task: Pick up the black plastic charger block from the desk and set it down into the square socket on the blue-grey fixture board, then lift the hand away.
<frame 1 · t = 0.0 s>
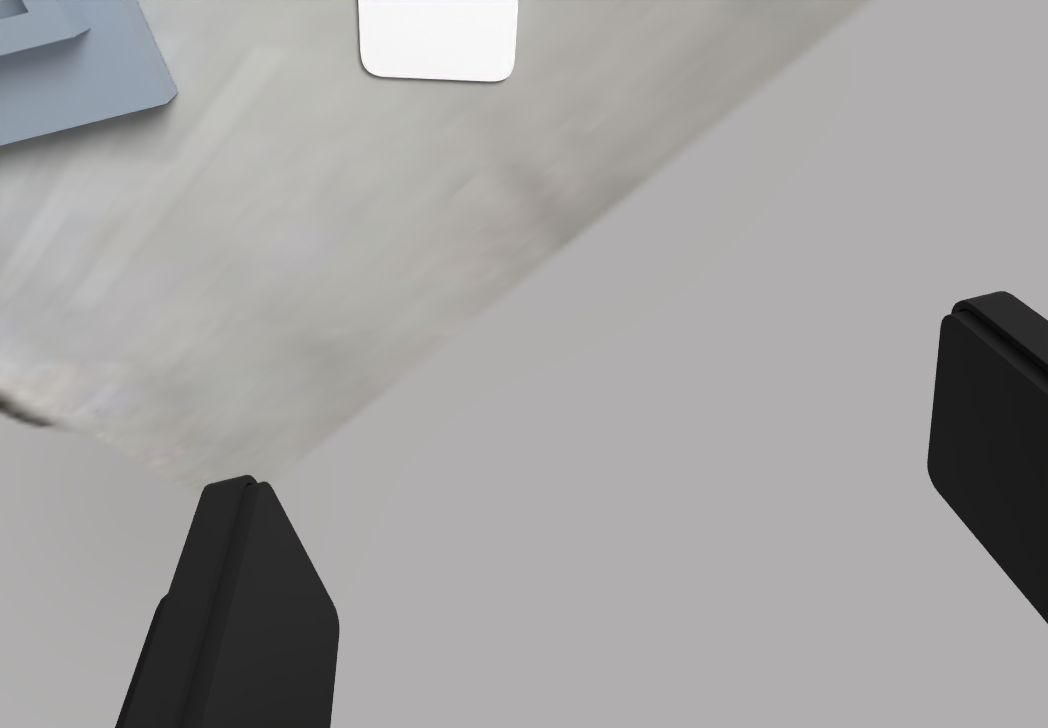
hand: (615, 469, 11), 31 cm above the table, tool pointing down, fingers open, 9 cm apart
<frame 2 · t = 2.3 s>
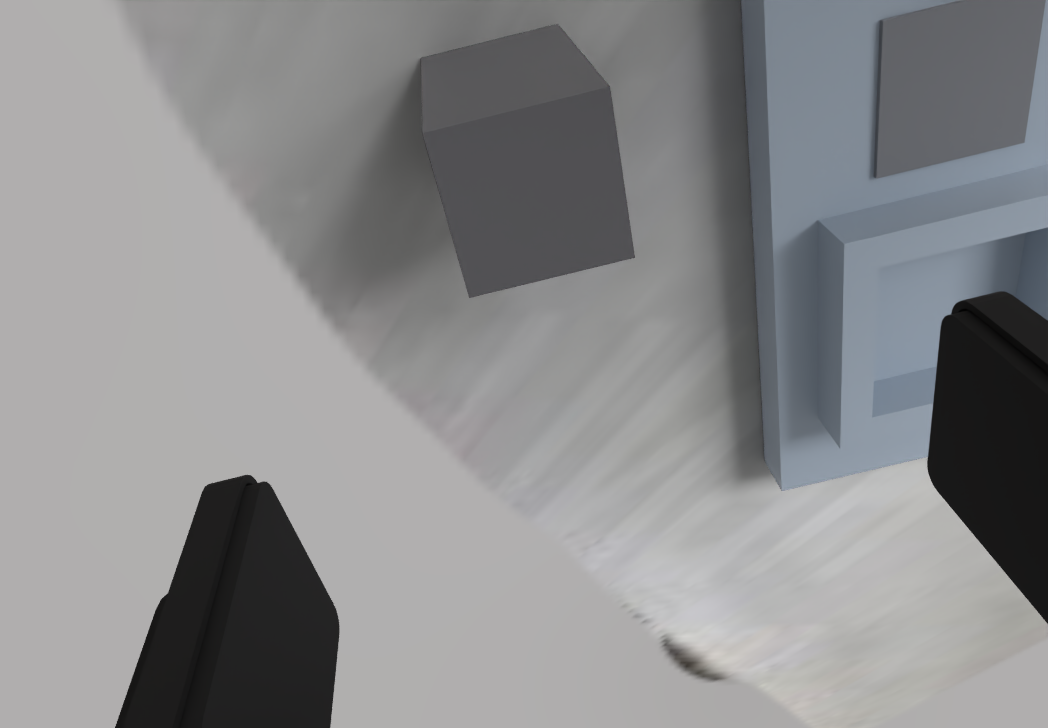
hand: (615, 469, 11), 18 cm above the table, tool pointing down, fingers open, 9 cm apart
blue-grey fixture board: (912, 180, 29), on the table
charger: (504, 110, 26), on the table
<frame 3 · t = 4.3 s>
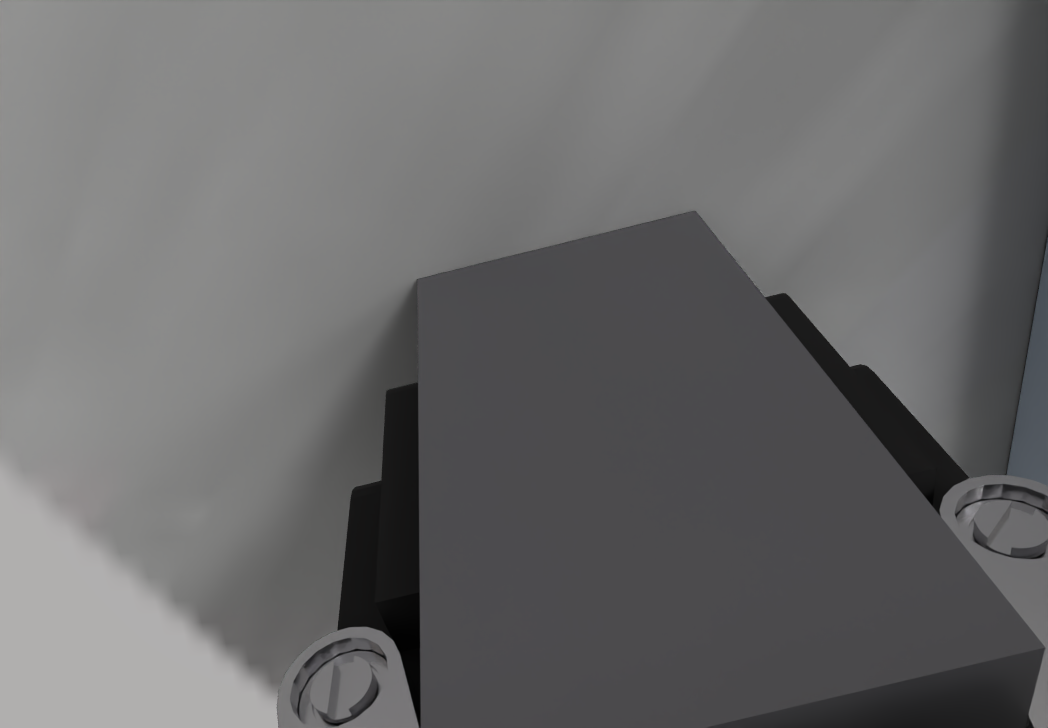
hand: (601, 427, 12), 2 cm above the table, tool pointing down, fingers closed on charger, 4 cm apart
charger: (579, 361, 13), on the table, touching gripper
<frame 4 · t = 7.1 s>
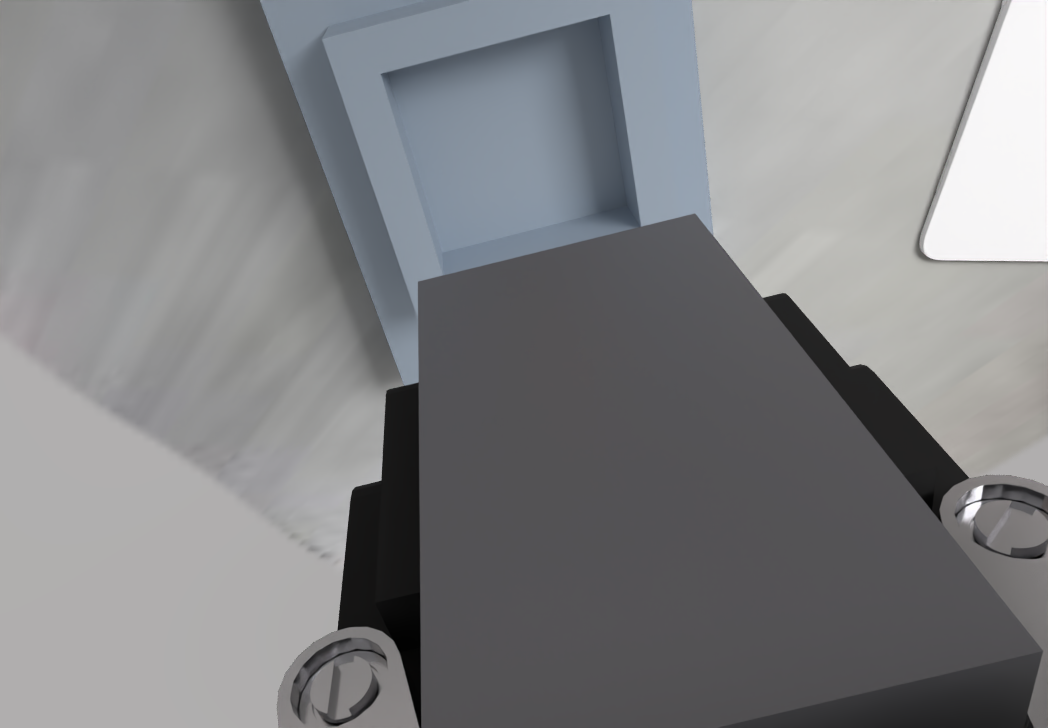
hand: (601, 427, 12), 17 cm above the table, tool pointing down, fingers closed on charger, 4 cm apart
charger: (579, 363, 13), point 15 cm above the table, touching gripper
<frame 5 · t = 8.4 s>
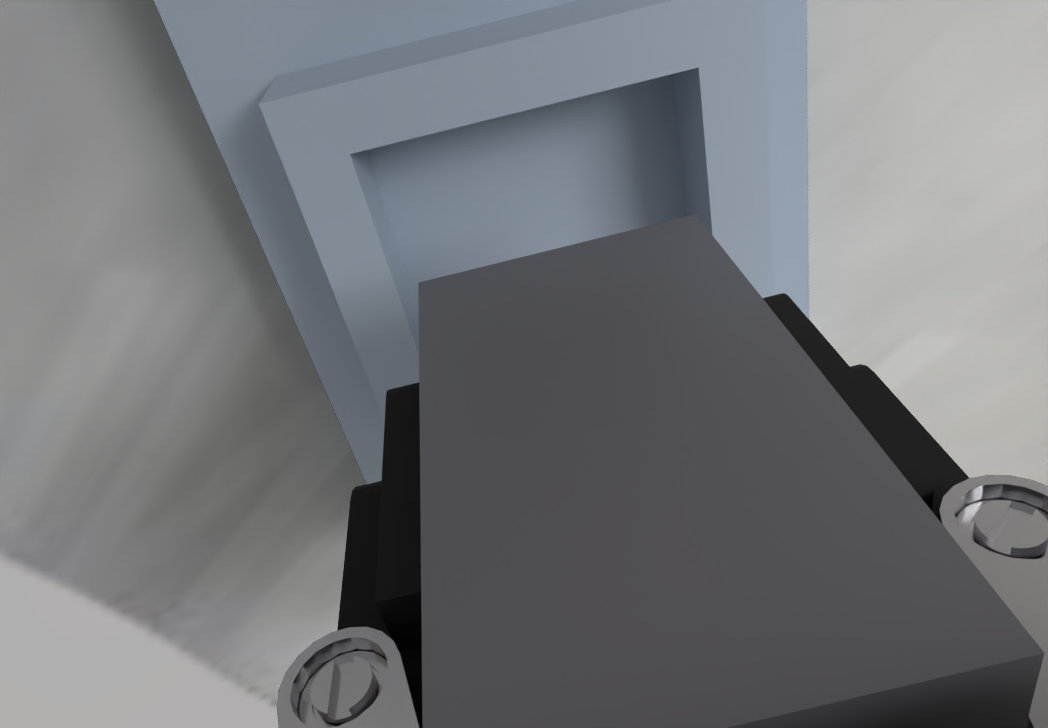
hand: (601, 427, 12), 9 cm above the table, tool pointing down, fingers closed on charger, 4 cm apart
blue-grey fixture board: (494, 23, 17), on the table
charger: (580, 364, 13), point 7 cm above the table, touching gripper
when the fingers open (5 cm above the table, at t = 9.7 s): charger stays where it is, resting on blue-grey fixture board.
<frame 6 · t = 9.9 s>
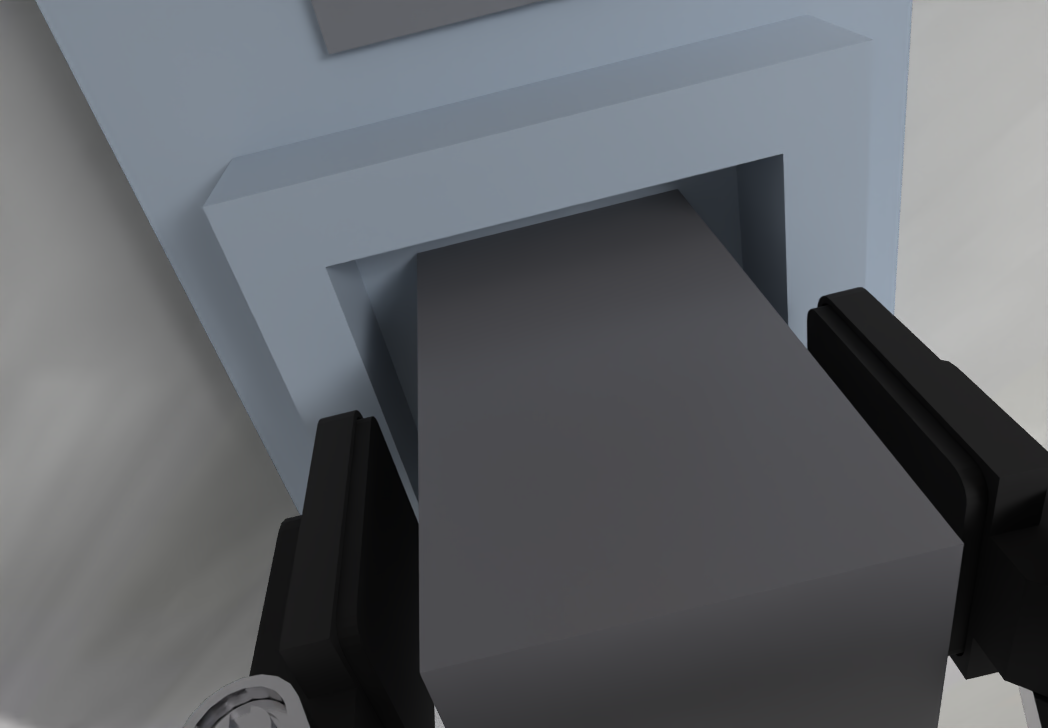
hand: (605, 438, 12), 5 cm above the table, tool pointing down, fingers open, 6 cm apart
blue-grey fixture board: (510, 82, 14), on the table
charger: (570, 332, 14), point 2 cm above the table, touching blue-grey fixture board
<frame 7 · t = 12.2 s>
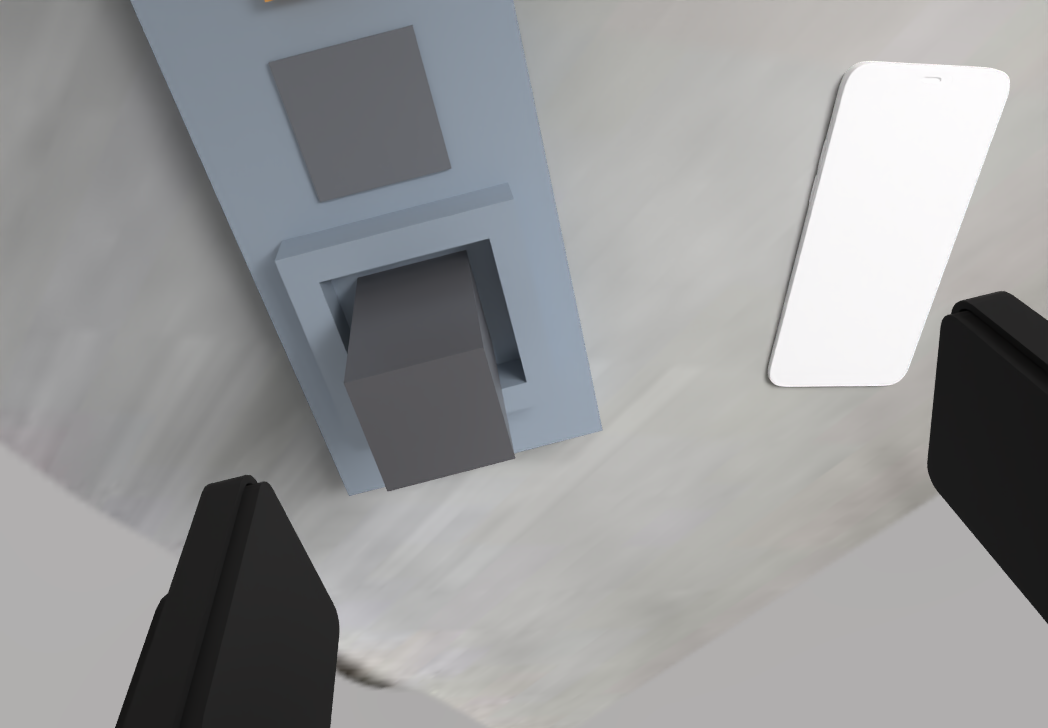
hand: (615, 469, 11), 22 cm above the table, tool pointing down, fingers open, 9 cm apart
smartphone: (869, 236, 36), on the table
blue-grey fixture board: (398, 204, 32), on the table
charger: (427, 312, 32), point 2 cm above the table, touching blue-grey fixture board
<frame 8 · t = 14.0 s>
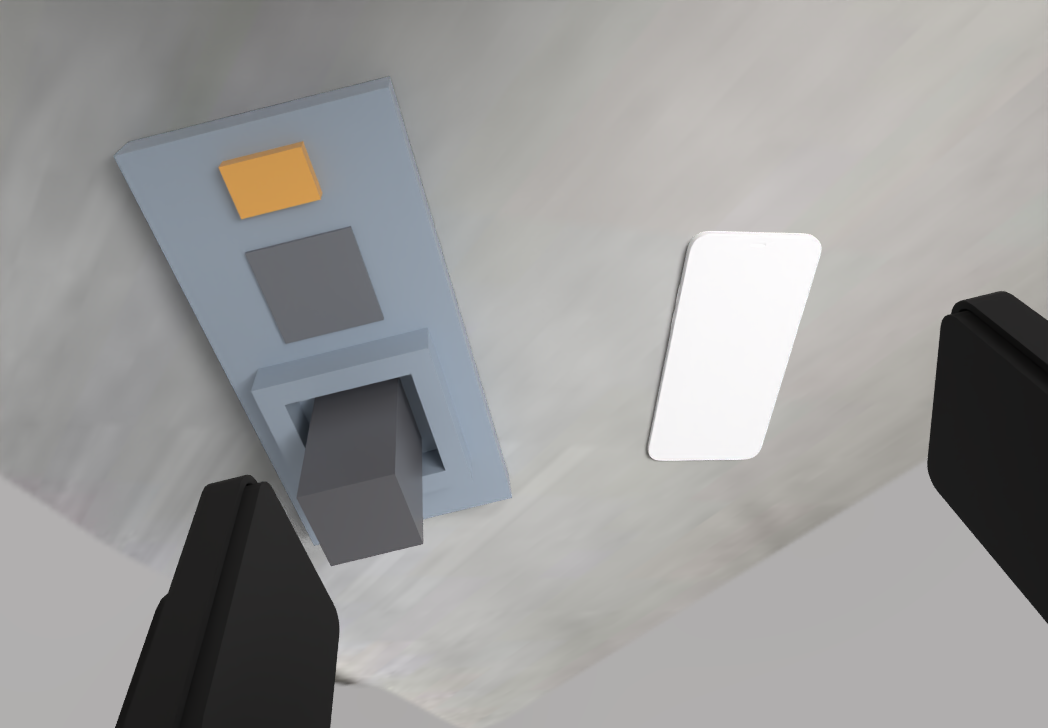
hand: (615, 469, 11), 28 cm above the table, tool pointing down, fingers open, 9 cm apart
smartphone: (723, 349, 45), on the table
blue-grey fixture board: (348, 334, 41), on the table
charger: (370, 416, 42), point 2 cm above the table, touching blue-grey fixture board
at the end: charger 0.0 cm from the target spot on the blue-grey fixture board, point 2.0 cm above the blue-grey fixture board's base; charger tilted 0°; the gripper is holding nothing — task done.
